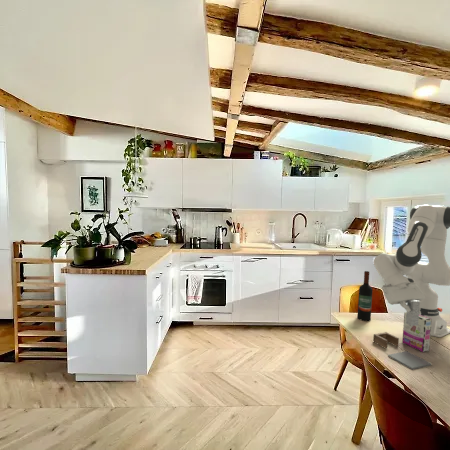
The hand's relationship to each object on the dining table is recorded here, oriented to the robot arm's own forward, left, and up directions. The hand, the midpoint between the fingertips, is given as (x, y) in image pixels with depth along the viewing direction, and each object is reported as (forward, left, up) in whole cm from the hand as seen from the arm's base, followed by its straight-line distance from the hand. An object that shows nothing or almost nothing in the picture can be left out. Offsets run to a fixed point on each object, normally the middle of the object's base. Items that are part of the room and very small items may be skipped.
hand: (414, 310), depth 136 cm
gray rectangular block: (0, -1, -6) cm, 6 cm away
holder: (-4, -17, -24) cm, 29 cm away
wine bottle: (-20, -47, -24) cm, 56 cm away
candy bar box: (-16, -10, -24) cm, 30 cm away
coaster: (0, -1, -24) cm, 24 cm away
